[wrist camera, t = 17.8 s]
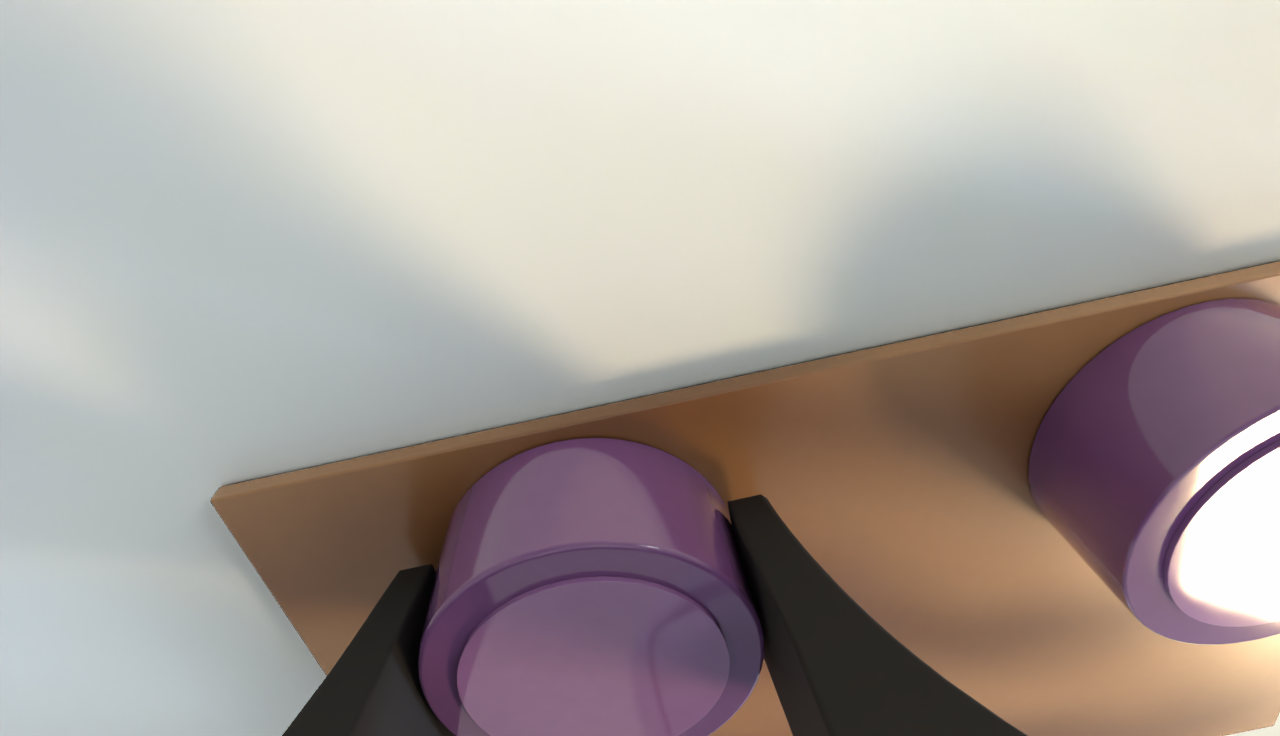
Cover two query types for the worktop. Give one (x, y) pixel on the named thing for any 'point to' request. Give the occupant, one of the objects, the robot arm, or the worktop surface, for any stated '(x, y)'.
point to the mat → (837, 518)
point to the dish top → (1175, 470)
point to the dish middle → (590, 600)
